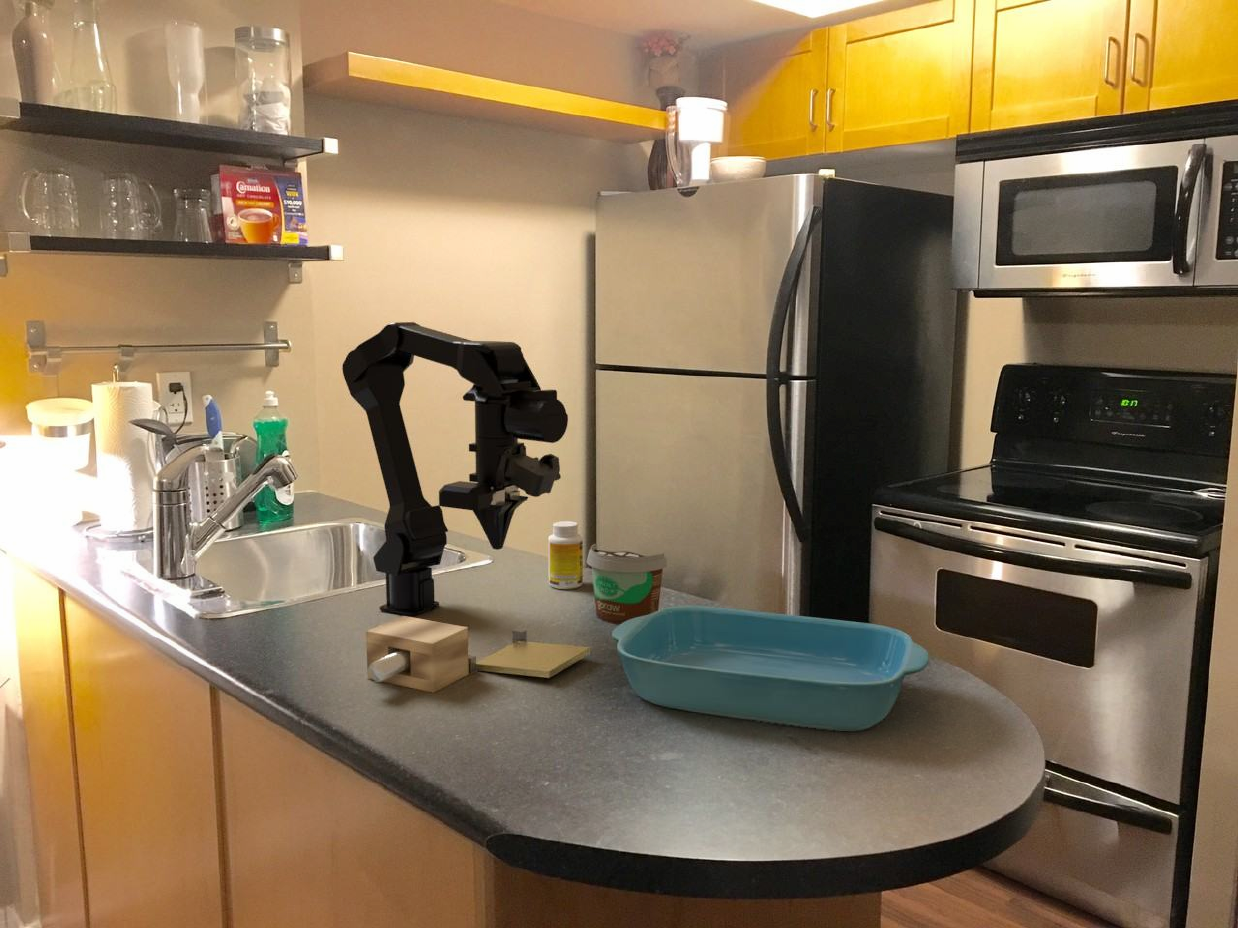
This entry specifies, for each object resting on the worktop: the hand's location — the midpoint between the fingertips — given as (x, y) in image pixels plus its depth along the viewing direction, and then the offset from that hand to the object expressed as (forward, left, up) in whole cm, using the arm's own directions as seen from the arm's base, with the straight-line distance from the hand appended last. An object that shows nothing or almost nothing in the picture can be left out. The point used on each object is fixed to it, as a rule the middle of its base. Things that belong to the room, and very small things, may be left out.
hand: (497, 548), depth 144 cm
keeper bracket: (+5, -9, -12) cm, 16 cm away
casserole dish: (+40, -4, -12) cm, 42 cm away
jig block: (+1, -19, -12) cm, 22 cm away
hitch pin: (+1, -20, -11) cm, 23 cm away
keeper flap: (+11, -9, -11) cm, 18 cm away
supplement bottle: (-4, +25, -12) cm, 28 cm away
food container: (+12, +13, -12) cm, 21 cm away
